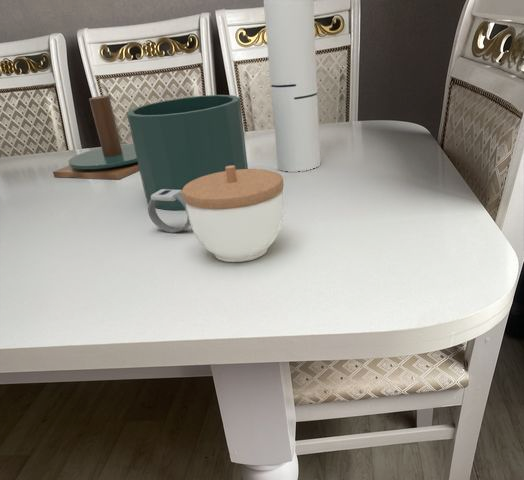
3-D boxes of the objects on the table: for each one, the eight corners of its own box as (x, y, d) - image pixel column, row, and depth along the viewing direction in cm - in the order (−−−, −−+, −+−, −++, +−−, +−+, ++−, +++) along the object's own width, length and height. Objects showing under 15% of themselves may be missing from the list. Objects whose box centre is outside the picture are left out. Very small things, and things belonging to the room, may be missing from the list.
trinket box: (278, 228, 64) (271, 148, 59) (298, 261, 55) (291, 171, 50) (191, 242, 63) (177, 162, 58) (197, 278, 54) (180, 188, 49)
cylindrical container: (281, 161, 92) (267, -11, 78) (322, 159, 90) (315, -17, 77) (274, 172, 86) (257, -11, 72) (317, 170, 84) (309, -18, 71)
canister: (125, 207, 78) (103, 117, 72) (184, 176, 90) (170, 97, 83) (215, 213, 72) (200, 114, 65) (266, 179, 83) (258, 93, 76)
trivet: (54, 177, 100) (52, 171, 99) (109, 155, 111) (108, 150, 111) (119, 179, 93) (117, 173, 92) (170, 156, 105) (169, 151, 104)
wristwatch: (200, 228, 67) (194, 189, 64) (189, 236, 65) (182, 196, 62) (160, 226, 70) (152, 188, 67) (149, 233, 68) (140, 195, 65)
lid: (51, 170, 100) (31, 107, 94) (112, 148, 112) (98, 91, 106) (116, 174, 92) (99, 105, 86) (175, 150, 104) (163, 88, 98)
